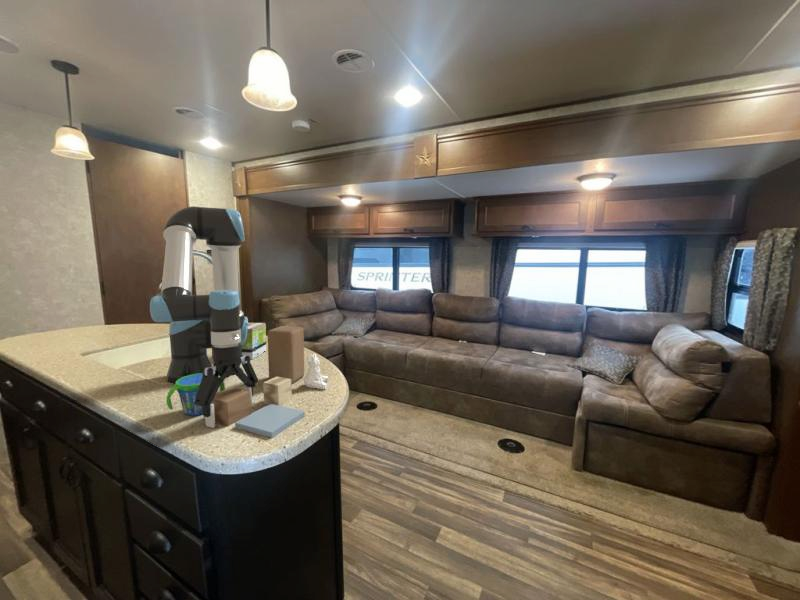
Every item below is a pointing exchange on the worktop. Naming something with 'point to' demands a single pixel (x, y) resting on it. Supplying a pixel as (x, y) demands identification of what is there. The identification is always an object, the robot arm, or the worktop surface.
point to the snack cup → (189, 393)
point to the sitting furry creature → (315, 374)
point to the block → (286, 352)
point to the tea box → (255, 340)
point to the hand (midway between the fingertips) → (230, 416)
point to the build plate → (270, 420)
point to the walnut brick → (231, 405)
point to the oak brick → (277, 391)
